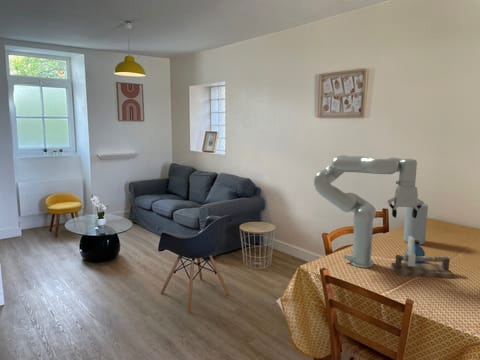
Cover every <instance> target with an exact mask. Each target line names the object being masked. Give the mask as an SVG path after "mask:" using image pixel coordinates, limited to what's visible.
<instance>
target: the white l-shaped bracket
mask: <svg viewBox="0 0 480 360" xmlns="http://www.w3.org/2000/svg"><path fill="white" fill-rule="evenodd" d="M414 241H415V239H414V238H413V237H411V236H408V243H407V249H408V250H407V249H406V250H404V256H408V261H405V260H403V261H404V262H403V263H406V264H407V265H408V266H415V257H416V255H415V254H414Z"/></svg>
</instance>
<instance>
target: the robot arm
mask: <svg viewBox="0 0 480 360" xmlns="http://www.w3.org/2000/svg"><path fill="white" fill-rule="evenodd" d="M417 166H418V162H417V159H413V158H397V157H389V158H384V159H383V158H369V157H366V156H354V155H353V156H348V155H343V154H342V155H337V156H336V157H335V158H333V159H332V162H331V164H329V165H328V166H327V167H326V168H324V169H321V170H320V171H318V172H317V173H316V175H315V176H314V178H313V179H314V180H313V185H314V188H315V190H316V192H317V193H318V194H319V196H321V197H323V198H324V199H325V200H327V201H328V202H330V203H331V204H332V205H334V206H336V207H337V208H338V209H339V210H341V211H342V212H345V213H350V212H351V213H354V215H353V240H352V253H351V254H349V255H348V254H344V255H343V259H346V261H349V264H350V263H351V264H350V265H351V266H353V267H356V266H357V267H356V268H365V269H366V268H367V269H370V268H372V267H374V265H375V262H374V261H373V260H372V248H373V234H374V233H373V229H374V228H373V225H374V224H373V223H374V219H375V217H376V215H377V214H376V213H377V210H376V208H375V206H374V205H373V204H371V202H369V201H367V200H366V199H364V198H363V197H361V196H359V195H358V194H356V193H354V192H344V191H343V190H341V189H340V188H338V187H336V186H335V185H333V184H331V183H333V182H335V181H336V180H337V179H338V178H340V176H342V175H343V174H344V173H359V174H360V173H362V174H372V175H373V174H374V175H393V174H395V173H397V172H398V173H399V175H398V180H397V181H396V180H395V184H396V185H397V186H396V189H395V193H394V197H392V198H390V199H388V200H387V204H388V206H389V207H390V209H392V212H391V215H392V217H393V218H395V219H396V218H397V214H398V213H397V211H398V210H397V209H398V208H406V207H413V208H414V209H413V211H412V217H413V218H416V216H417V211H418V210H419V208H421V206H422V205H423V203H425V202H424V201H423V200H421V199H420V198H419V197H418V196H419V195H418V187H417V186H416V179H417V169H418V168H417ZM418 202H419V204H418ZM393 203H394V204H393ZM417 204H418V205H417Z"/></svg>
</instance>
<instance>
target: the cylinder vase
mask: <svg viewBox="0 0 480 360" xmlns="http://www.w3.org/2000/svg"><path fill="white" fill-rule="evenodd" d="M418 204H419V202H418ZM418 204H417V205H418ZM428 207H429V204H428V203H425V202H424V203H423V205H422V206H421V208H419V210H418V211H417V216H416V218H413V217H412V211H413V209H414V208H413V207H405V211H404V212H405V215H404V228H403V241H404V243H407V244H408V236H411V237H413V238H414V239H415V240H419V241H420V242H419V243H420V245H424V244H425V243H426V235H427V223H428V210H429V208H428ZM420 245H419V246H420Z"/></svg>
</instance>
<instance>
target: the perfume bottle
mask: <svg viewBox="0 0 480 360" xmlns="http://www.w3.org/2000/svg"><path fill="white" fill-rule="evenodd" d="M419 242H420V241H419V240H415V241H414V254H415V255H416V256H425V253H426V252H425V251H424V250H425V249H423V247H421V246H420V243H419ZM407 250H408V248H407V249H406V251H407ZM415 263H416V264H425V261H415Z"/></svg>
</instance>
